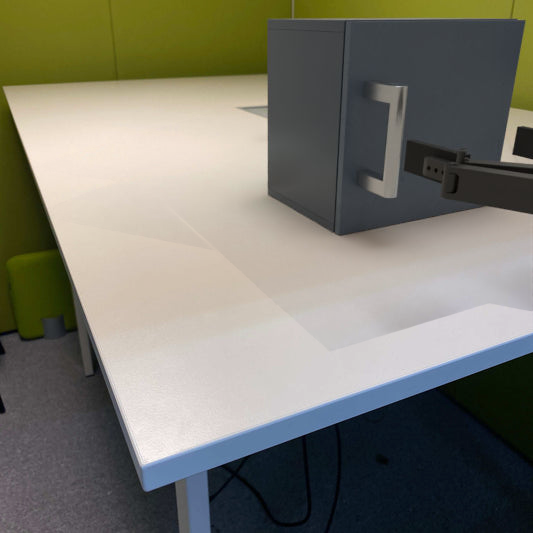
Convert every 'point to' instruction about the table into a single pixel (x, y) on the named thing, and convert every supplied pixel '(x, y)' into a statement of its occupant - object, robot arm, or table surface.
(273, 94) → the cabinet
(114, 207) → the table surface
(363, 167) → the door
